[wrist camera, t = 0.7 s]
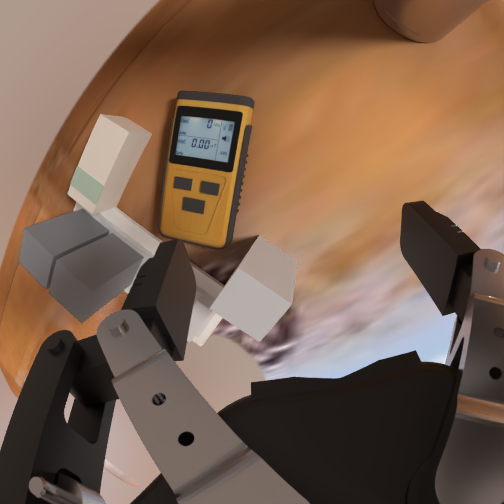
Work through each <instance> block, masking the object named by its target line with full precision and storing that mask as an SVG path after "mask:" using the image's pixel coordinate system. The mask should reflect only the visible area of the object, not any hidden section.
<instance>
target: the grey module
mask: <svg viewBox="0 0 504 504" xmlns="http://www.w3.org/2000/svg"><path fill="white" fill-rule="evenodd" d="M297 266H298V262H297V261H296V260H295V259H293V258H292V257H290V256H289V255H287V254H286V253H285V252H283V251H282V250H280V249H279V248H277V247H276V246H275V245H273V244H272V243H270V242H269V241H267V240H266V239H265V238H263V237H262V236H260V235H259V236H258V238H257V239H256V241H255V242H254V243H253V245H252V246H251V248H250V249H249V251H248V252H247V254H246V255H245V256H244V258H243V259H242V261H241V262H240V264H239V265H238V266H237V268H236V269H235V271H234V272H233V274H232V275H231V277H230V278H229V280H228V281H227V283H226V284H225V286H224V287H223V289H222V290H221V292H220V293H219V295H218V296H217V298H216V299H215V301H214V302H213V304H212V305H211V307H210V308H209V309H211V310H212V311H214V312H215V313H216V314H218V315H219V316H221V317H222V318H224V319H225V320H227V321H228V322H230V323H231V324H233V325H234V326H236V327H237V328H239V329H240V330H242V331H243V332H245V333H246V334H248V335H250V336H251V337H253V338H254V339H256V340H257V341H259V342H260V341H261V340H262V339H263V338H264V336H265V335H266V334H267V333H268V332H269V331H270V330H271V328H272V327H273V326H274V325H275V324H276V323H277V321H278V320H279V319H280V318H281V317H282V316H283V314H284V313H285V312H286V311H287V310H288V308H289V307H290V306H291V305H292V300H293V294H294V287H295V280H296V273H297Z"/></svg>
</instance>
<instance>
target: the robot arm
mask: <svg viewBox="0 0 504 504" xmlns="http://www.w3.org/2000/svg"><path fill="white" fill-rule="evenodd" d="M487 1H488V0H374V4H375V7H376V10H377V12H378V14H379V15H380V16H381V18H382V19H383V21H384V22H385V23H386V24H387V25H388V26H389V27H391V28H392V29H393V30H394V31H396V32H397V33H399V34H401V35H402V36H404V37H406V38H409V39H411V40H414V41H418V42H426V43H430V42H436V41H438V40H440V39H442V38H443V37H444V36H446V35H447V34H448V33H449V32H450V31H452V30H453V29H454V28H455V27H457V26H458V25H459V24H460V23H461V22H463V21H464V20H465V19H466V18H467V17H469V16H470V15H471V14H472V13H473V12H475V11H476V10H477V9H478V8H480V7H481V6H482V5H483V4H484V3H486V2H487ZM400 246H401V251H402V254H403V257H404V258H405V260H406V261H407V262H408V264H409V265H410V267H411V268H412V270H413V271H414V272H415V274H416V275H417V277H418V278H419V280H420V281H421V283H422V284H423V286H424V287H425V289H426V290H427V292H428V293H429V295H430V297H431V298H432V300H433V301H434V303H435V304H436V306H437V307H438V309H439V311H440V312H441V314H442V316H444V315H448V314H451V313H454V312H455V313H456V314H457V317H456V320H455V323H454V328H453V333H452V337H451V342H450V346H449V351H448V355H447V359H446V363H445V364H441V363H435V362H421V361H420V358H419V356H418V354H417V352H416V351H412V352H409V353H405V354H401V355H398V356H394V357H390V358H386V359H382V360H378V361H376V362H374V363H372V364H370V365H368V366H366V367H364V368H362V369H360V370H358V371H355V372H353V373H351V374H349V375H347V376H344V377H342V378H336V379H332V378H304V377H290V378H283V379H275V380H268V381H260V382H251V395H249V396H246V397H243V398H241V399H239V400H237V401H235V402H233V403H231V404H229V405H228V406H226V407H225V408H224V409H222V410H221V411H219V412H218V413H216V412H215V411H214V409H213V408H212V407H211V406H210V405H209V404H208V402H207V401H206V400H205V399H204V398H203V397H202V396H201V394H200V393H199V392H198V390H197V389H196V388H195V387H194V386H193V384H192V383H191V382H190V381H189V379H188V378H187V377H186V376H185V374H184V373H183V372H182V371H181V369H180V368H179V367H178V365H177V364H176V363H175V361H183V360H184V354H185V348H186V343H187V338H188V332H189V326H190V321H191V316H192V310H193V305H194V300H195V295H196V279H195V275H194V272H193V269H192V266H191V263H190V260H189V257H188V254H187V252H186V249H185V246H184V243H183V241H182V240H181V239H177V240H171V241H166V242H161V243H160V244H159V246H158V248H157V250H156V253H155V255H154V257H153V258H149V259H148V260H147V261H146V262H145V263H144V264H143V265H142V266H141V267H140V269H139V271H138V273H137V275H136V278H135V280H134V282H133V284H132V285H133V286H131V289H130V291H129V293H128V295H127V298H126V300H125V302H124V305H123V307H122V309H121V310H120V311H117V312H114V313H112V314H110V315H109V316H108V317H106V318H105V319H104V320H103V321H102V322H101V323H100V325H99V327H98V329H97V335H94V336H91V337H88V338H85V339H82V340H79V341H77V339H76V338H75V336H74V335H73V334H72V332H70V331H68V330H62V331H58V332H56V333H54V334H52V335H51V336H49V337H48V338H47V339H46V340H45V341H44V342H43V344H42V345H41V347H40V349H39V352H38V354H37V356H36V358H35V360H34V362H33V365H32V367H31V369H30V371H29V374H28V376H27V378H26V381H25V383H24V386H23V388H22V391H21V393H20V396H19V398H18V401H17V403H16V406H15V409H14V411H13V414H12V417H11V420H10V423H9V425H8V428H7V431H6V435H5V437H4V441H3V444H2V447H1V450H0V504H106V503H105V501H104V499H103V498H102V497H101V495H100V487H101V480H102V473H103V467H104V460H105V454H106V449H107V443H108V437H109V432H110V427H111V421H112V417H113V412H114V407H115V402H116V399H120V400H121V403H122V405H123V407H124V409H125V411H126V413H127V414H128V416H129V418H130V420H131V422H132V424H133V426H134V428H135V429H136V431H137V433H138V435H139V436H140V438H141V440H142V442H143V444H144V445H145V447H146V449H147V450H148V452H149V454H150V456H151V457H152V459H153V460H154V462H155V464H156V465H157V467H158V468H159V470H160V472H161V474H160V475H159V476H158V477H157V478H156V479H155V480H154V481H153V482H152V483H151V484H150V485H149V486H148V487H147V488H146V489H145V490H144V491H143V492H142V493H141V494H140V495H139V496H138V497H137V498H136V499H134V501H132V502H131V503H130V504H504V254H502V253H500V252H498V251H496V250H492V249H480V248H479V247H478V246H477V245H476V244H475V243H474V242H473V241H472V240H471V239H470V238H469V237H468V236H467V235H466V234H465V233H464V232H462V230H461V229H460V228H459V227H458V226H456V224H455V223H453V222H452V221H451V220H450V219H449V218H448V217H446V216H444V215H442V214H440V213H438V212H436V211H434V210H433V209H432V208H431V207H430V206H429V205H428V204H427V203H425V202H424V201H417V202H410V203H405V204H404V205H403V208H402V221H401V236H400ZM69 392H70V393H71V394H72V395H73V396H74V397H75V399H74V403H73V406H72V410H71V413H70V417H69V420H68V424H67V423H66V421H65V418H64V408H65V405H66V401H67V398H68V395H69Z"/></svg>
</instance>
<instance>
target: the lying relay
mask: <svg viewBox="0 0 504 504" xmlns="http://www.w3.org/2000/svg"><path fill="white" fill-rule="evenodd" d="M151 135H152V133H150V132H148V131H147V130H145V129H143V128H142V127H140V126H139V125H137V124H135V123H134V122H132V121H130V120H129V119H127V118H125V117H120V116H112V115H103V114H100V116H99V118H98V120H97V122H96V125H95V127H94V129H93V131H92V133H91V136H90V138H89V140H88V142H87V145H86V147H85V149H84V152H83V154H82V157H81V159H80V162H79V164H78V166H77V168H76V170H75V173H74V175H73V178H72V181H71V184H70V188H69V191H68V195H69V196H70V197H71V198H73V199H74V200H75V201H76V202H77V203H79V204H80V205H81V206H82V207H83V208H85V209H86V210H87V211H88V212H90V213H91V214H92V215H94V214H96V213H99V212H102V211H106V210H109V209H112V208H115V207H117V204H118V202H119V200H120V198H121V196H122V193H123V191H124V189H125V187H126V185H127V183H128V180H129V178H130V176H131V174H132V172H133V170H134V168H135V166H136V164H137V162H138V160H139V158H140V156H141V154H142V152H143V150H144V148H145V147H146V145H147V143H148V141H149V139H150V137H151Z"/></svg>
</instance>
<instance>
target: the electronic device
mask: <svg viewBox="0 0 504 504" xmlns="http://www.w3.org/2000/svg"><path fill="white" fill-rule="evenodd" d="M253 107H254V100H253V99H251V98H250V97H245V96H239V95H230V94H220V93H209V92H196V91H179V92H178V96H177V104H176V110H175V115H174V116H173V118H172V123H171V129H170V135H169V142H168V148H167V155H166V162H165V170H164V177H163V185H162V195H161V204H160V214H159V225H158V229H159V232H160V234H161V235H162V236H164V237H166V238H170V239H175V240H177V239H181V240H182V241H183V242H187V243H192V244H196V245H200V246H204V247H209V248H213V249H224V248H225V247H227V246H228V245H229V244H230V243H231V240H232V238H233V232H234V226H235V220H236V214H237V213H238V211H239V210H238V209H237V208H238V206H239V205H240V203H239V199H240V198H241V196H240V192H242V189H241V185H243V182H242V179H243V178H244V175H243V173H244V171H245V170H246V169H245V168H244V167H245V164H246V163H247V161H246V157H248V154H247V151H248V145H249V139H250V134H251V128H252V126H251V125H250V124H251V118H252V113H253Z"/></svg>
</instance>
